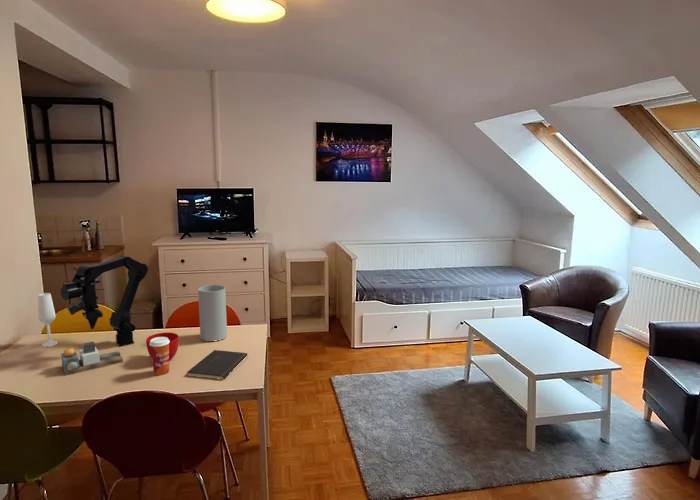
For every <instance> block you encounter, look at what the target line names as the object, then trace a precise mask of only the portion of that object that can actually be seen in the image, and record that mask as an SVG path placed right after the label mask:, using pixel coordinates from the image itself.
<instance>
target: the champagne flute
mask: <svg viewBox="0 0 700 500" xmlns="http://www.w3.org/2000/svg"><path fill="white" fill-rule="evenodd" d="M37 297H38V298H37V299H38V300H37V301H38V302H37V305H38V306H37V307H38V309H37V310H38V311H37V312H38V313H37V317H38V320H39V321H40V322H41V323H42V324H44V325H46V332H47V340H46V341H45V342H43V343H42V344H41V347H44V348H45V347H46V346H48V347H54V346H56V345H58V344H59V341H56V340H53V339H52V335H51V323H52V322H53V321H54V320H55V319H56V315H57V314H56V310H55V306H54V303H53V298H52V294H51V292H44V293H39V294H38V295H37Z"/></svg>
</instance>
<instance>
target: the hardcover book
mask: <svg viewBox="0 0 700 500" xmlns="http://www.w3.org/2000/svg"><path fill="white" fill-rule="evenodd" d="M247 355H249V354H248V353H247V352H240V351H230V350H229V351H228V350H221V349H220V350H218V349H214V350H212V351H211V352H210V353H208V354H207V356H205V357H204V358H203V359H200V361H199V362H198V363H196V364H195V365H194V366H192V367H191V368H190V369H189V370H187V371H186V373H187V377H193V376H196V377H195V378H202V377H209V378H208V379H211V378H219V379H218V380H220V379H224V380H226V378H227V376H228V375H229V373H230V372H232V371H233V369H234V368H235V367H236V366H237V365H238V364H239V363H240V362H241V361H242V360H243V359H244V358H245V357H246V356H247ZM233 372H234V371H233ZM233 372H232V373H233Z"/></svg>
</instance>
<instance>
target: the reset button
mask: <svg viewBox="0 0 700 500" xmlns="http://www.w3.org/2000/svg"><path fill="white" fill-rule="evenodd" d="M74 351H75V348H74V347H73V348H72V347H69V348H66V349H64V350H63V353H64V356H72V355H74V354H75V352H76V351H75V352H74Z"/></svg>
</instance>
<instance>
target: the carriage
mask: <svg viewBox="0 0 700 500" xmlns="http://www.w3.org/2000/svg"><path fill="white" fill-rule="evenodd" d="M81 344H82V349H79V351H78V352H79V358H80V359H79V360H82V361H83V366H86V365H90V364H95V363H99V362H100V356H99V355H100V352H99V350H98V348H97V347H96V346H95V345H96V344H95V342H94V341H88V342H83V343H81Z"/></svg>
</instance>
